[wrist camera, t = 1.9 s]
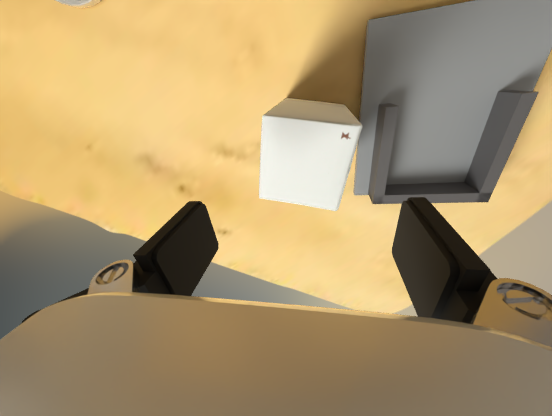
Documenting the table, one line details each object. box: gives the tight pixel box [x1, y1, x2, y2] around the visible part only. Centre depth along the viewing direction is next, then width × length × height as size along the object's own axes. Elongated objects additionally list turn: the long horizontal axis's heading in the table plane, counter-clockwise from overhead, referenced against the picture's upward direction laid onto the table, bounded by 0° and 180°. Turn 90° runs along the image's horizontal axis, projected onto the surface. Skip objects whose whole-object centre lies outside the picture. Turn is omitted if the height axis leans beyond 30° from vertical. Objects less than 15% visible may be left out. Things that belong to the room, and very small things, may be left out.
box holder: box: [354, 0, 552, 204], centre depth 22 cm, size 19×16×4 cm
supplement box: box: [259, 98, 362, 211], centre depth 22 cm, size 7×7×13 cm
